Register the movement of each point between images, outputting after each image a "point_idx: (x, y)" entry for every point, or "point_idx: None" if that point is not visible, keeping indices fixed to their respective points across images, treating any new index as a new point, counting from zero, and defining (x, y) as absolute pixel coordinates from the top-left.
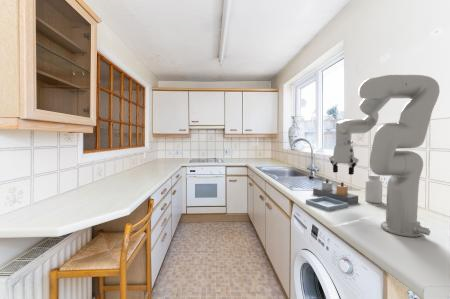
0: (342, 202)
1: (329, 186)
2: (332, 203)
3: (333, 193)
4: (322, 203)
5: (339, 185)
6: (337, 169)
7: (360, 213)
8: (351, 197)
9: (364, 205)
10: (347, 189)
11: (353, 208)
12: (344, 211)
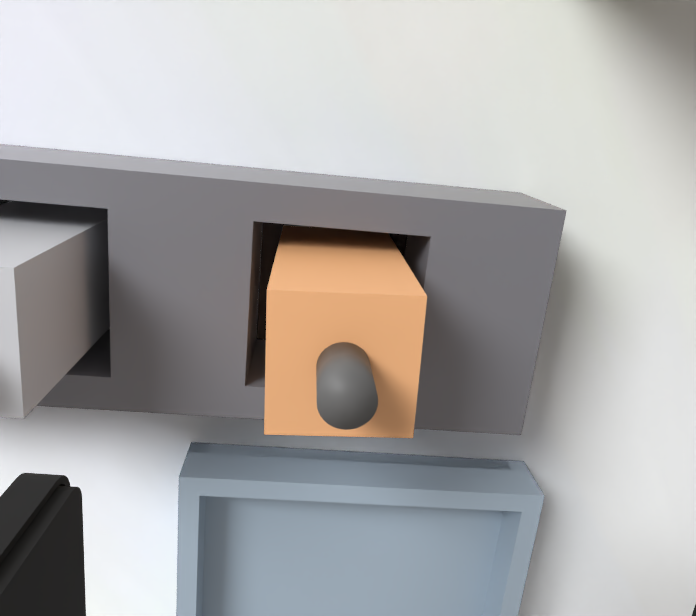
0: (477, 507)
1: (51, 333)
2: (357, 512)
3: (254, 416)
4: (294, 601)
5: (284, 373)
6: (30, 572)
7: (677, 504)
8: (530, 375)
9: (604, 193)
10: (414, 281)
11: (566, 420)
12: (549, 575)
